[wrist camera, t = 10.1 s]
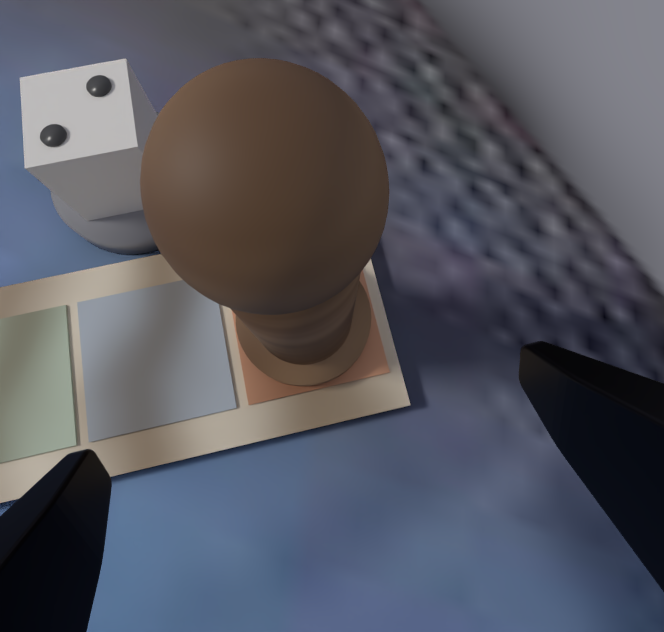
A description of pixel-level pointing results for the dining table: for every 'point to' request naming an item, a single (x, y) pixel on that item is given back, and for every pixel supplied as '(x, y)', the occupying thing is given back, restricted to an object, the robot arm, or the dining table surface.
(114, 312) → the board
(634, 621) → the dining table surface
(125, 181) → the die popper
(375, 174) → the pawn
